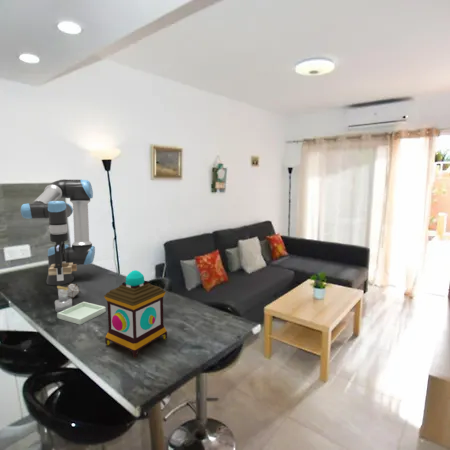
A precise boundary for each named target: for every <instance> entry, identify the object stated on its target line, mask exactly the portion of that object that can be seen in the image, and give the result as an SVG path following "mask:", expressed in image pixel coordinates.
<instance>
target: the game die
mask: <svg viewBox="0 0 450 450" xmlns="http://www.w3.org/2000/svg"><path fill="white" fill-rule="evenodd" d="M68 284H69V285H67V284H65V285H66V286H65V287H67V288H68V290H67V293H68V297H69V298H72V300H73V299H74V298H75V297H77V296H78V294H79V293H82V291H80V289H79V288H80V285H78V283H75V284H74V283H72V282H70V283H68Z"/></svg>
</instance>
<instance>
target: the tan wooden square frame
mask: <svg viewBox="0 0 450 450" xmlns="http://www.w3.org/2000/svg"><path fill="white" fill-rule="evenodd" d="M54 267H55V264H52V265H51V266H50V268H49V267H48V269H47V270H48V272H47V273H49V275H57V273H56V268H54ZM62 267H63V274H71V273H72V274H73V272H77V271H78V265H77V264H73V262H72V263H62Z"/></svg>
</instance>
